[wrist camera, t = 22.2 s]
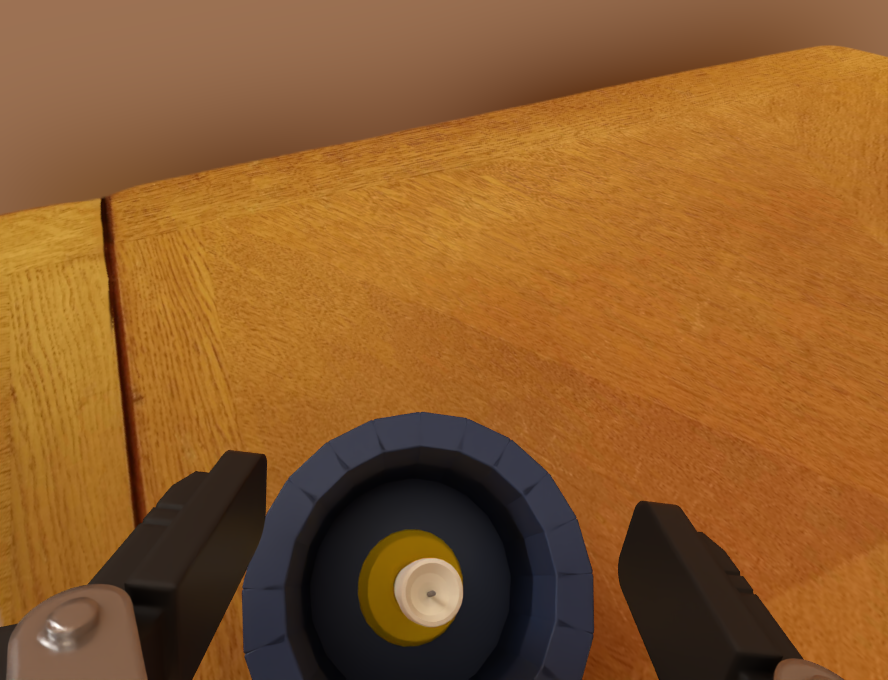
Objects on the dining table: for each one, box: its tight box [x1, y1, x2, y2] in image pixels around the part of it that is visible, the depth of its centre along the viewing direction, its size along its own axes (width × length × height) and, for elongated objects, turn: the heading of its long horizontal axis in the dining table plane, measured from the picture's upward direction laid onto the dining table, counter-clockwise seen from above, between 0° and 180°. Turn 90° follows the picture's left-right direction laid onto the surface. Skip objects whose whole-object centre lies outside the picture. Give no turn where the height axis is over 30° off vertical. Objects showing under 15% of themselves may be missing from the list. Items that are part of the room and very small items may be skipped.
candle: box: [358, 529, 463, 646], centre depth 18 cm, size 5×5×16 cm
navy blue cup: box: [242, 412, 594, 680], centre depth 21 cm, size 11×11×11 cm
